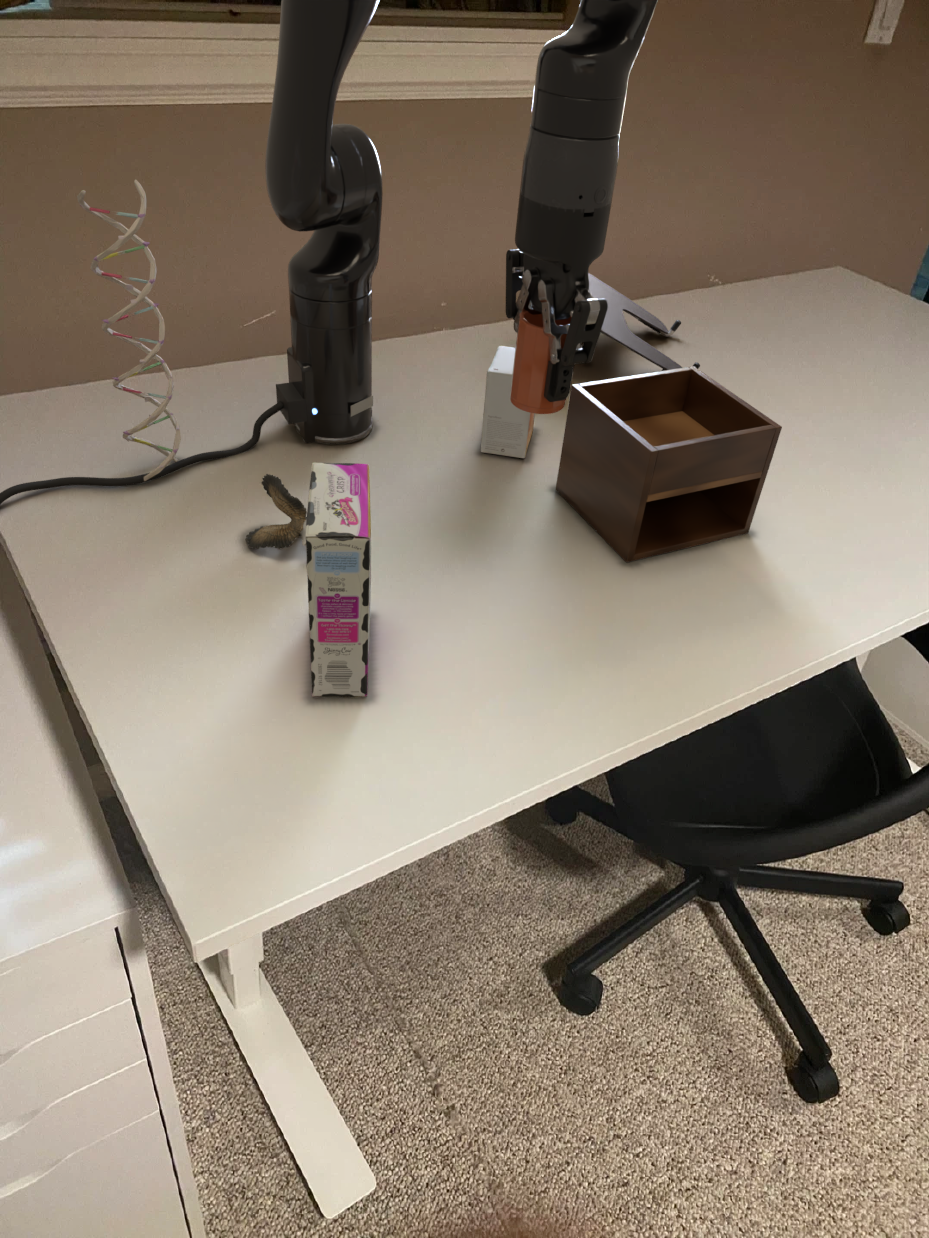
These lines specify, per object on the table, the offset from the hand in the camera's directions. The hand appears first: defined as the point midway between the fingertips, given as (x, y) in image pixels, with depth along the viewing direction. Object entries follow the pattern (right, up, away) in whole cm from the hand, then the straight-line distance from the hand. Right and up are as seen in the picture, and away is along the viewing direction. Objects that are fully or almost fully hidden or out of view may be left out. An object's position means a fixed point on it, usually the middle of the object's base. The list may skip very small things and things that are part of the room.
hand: (540, 384), depth 85 cm
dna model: (-41, -6, +17) cm, 45 cm away
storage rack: (+14, -10, +18) cm, 25 cm away
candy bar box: (-18, -25, -4) cm, 31 cm away
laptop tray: (+15, +18, +51) cm, 57 cm away
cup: (0, -1, +1) cm, 2 cm away
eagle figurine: (-25, -14, +9) cm, 30 cm away
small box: (-2, 0, +28) cm, 28 cm away
